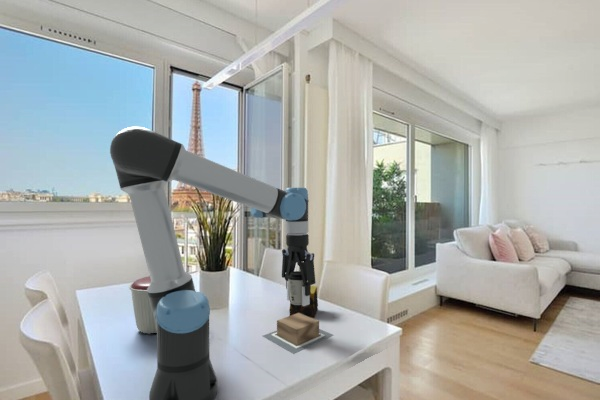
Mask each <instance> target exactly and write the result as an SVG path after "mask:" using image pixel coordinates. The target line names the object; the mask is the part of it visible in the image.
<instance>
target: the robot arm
mask: <svg viewBox="0 0 600 400" xmlns="http://www.w3.org/2000/svg"><path fill="white" fill-rule="evenodd" d="M109 154H110V158H111V160H112V163H113V166H114V169H115V173H116V176H117V180H118V183H119V188H120V190H121V191H122V192H124V193H126V194H128V196H129V200H130V204H131V209H132V212H133V216H134V221H135V223H136V226H137V231H138V235H139V240H140V242H141V243H140V244H141V247H142V251H143V255H144V259H145V261H146V266H147V269H148V274H149V276H150V278H151V284H150V285H149V287H148V288H147V292H148V296H149V300H150V304H151V308H152V313H153V316H154V321H155V326H156V331H157V334H156V357H157V358H156V359H157V360H156V363H157V367H156V371H155V374H154V377H153V381H152V383H151V384H152V385H151V387H150V390H149V394H148V400H214V399H215V398H216V396H217V393H218V378H217V375H216V372H215V369H214V367H213V364H212V362H211V359H210V315H211V307H210V304H209V299H208V297H207V295H206V294H204V293H203V292H201V291H196V289H195V284H194V281H193V276H192V274H190V273H188V272H186V271H185V268H184V265H183V263H184V262H183V259H182V256H181V252H180V251H181V250H180V247H179V244H178V243H179V242H178V240H177V239H178V238H177V234H176V231H175V227H174V223H173V220H172V214H171V210H170V205H169V202H168V199H167V198H168V197H167V193H166V190H165V187H166V186H167V184H168V183H170V182H171V181H176V182H179V183H181V184H185V185H188V186H190V187H193V188H195V189H199V190H201V191H205V192H207V193H210V194H213V195H215V196H218V197H221V198H224V199H227V200H229V201H231V202H232V201H233V202H234V203H237V204H241V205H243V206H246V207H249V208H250V209H249V211H250V214H251V216H252V217H253V218H257V219H258V218H260V219H265V218H269V219H279V220H285V233H286V235H285V238H286V239H285V241H286V243H285V244H286V246H287V248H284V249H282V250H281V254H282V263H281V264H282V265H281V266H282V267H281V278H284V280H285V289H286V300H287V301H288V302H290V300H291V298H290V290H289V282H288V278H287V277H288V275H290V273H291V272H294V271H296V270H295V269H296V267H297V266H299V267H298V268H299V271H301V276H302V280H303V284H304V285H302V306H306V305H309V304H310V294H311V286H314V285H315V284H316V274H315V263H314V260H315V253H310V252H309V251H308V246H309V242H310V241H309V240H310V239H309V234H308V233H309V201H310V200H309V193H308V192H309V191H308V188H306V187H286V188H285V190H282V189H280V188H278V187H275V186H273V185H271V184H269V183H266V182H263V181H261V180H260V179H259V180H258V179H256V178H254V177H251V176H248V175H247V174H244V173H242V172H239V171H238V170H235V169H233V168H230V167H227V166H225V165H222V164H220V163H218V162H215V161H213V160H210V159H208V158H206V157H203V156H200V155H199V154H196V153H193V152H191V151H188V150H187V149H186V147H185V146H184V144H183V143H180V142H178V141H176V140H173V139H171V138H169V137H167V136H165V135H163V134H162V133H161V134H160V133H158V132H157V131H154V130H152V129H148V128H146V127H142V126H130V127H127V128H124V129H122V130H121V131H118V133H117V134H115V136H113V139H112V140H111V142H110V148H109ZM296 265H297V266H296Z"/></svg>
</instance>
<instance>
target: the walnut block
mask: <svg viewBox="0 0 600 400" xmlns="http://www.w3.org/2000/svg"><path fill="white" fill-rule="evenodd" d="M319 329H320V321H319V320H318V319H315V318H312V317H308V316H306V315H303V314H301V313H297V314H294V315H291V316H290V315H288V316H285V317H282V318H280V319H277V320H276V331H277V335H278V336H279V337H281V338H283V339H285V340H287V341H289V342H291V343H293V344H295V345H296V346H297V345H300V344H302V343H304V342H306V341H309V340H311V339H313V338H315V337H318V336H319Z"/></svg>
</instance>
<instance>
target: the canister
mask: <svg viewBox="0 0 600 400" xmlns="http://www.w3.org/2000/svg"><path fill="white" fill-rule="evenodd" d="M150 284H151V278H150V275H149V276H144V277H141V278H138V279H136V280H135V281H133V282H132V283H130V284H129V286H128V288H129V290H130V291H131V298H132V306H133V314H134V319H135V325H136V328H137V330H138V331H139V332H140V331H141V332H140V333H142V332H143V333H142V334H145V333H157V331H156V326H155V321H154V316H153V313H152V308H151V304H150V300H149V296H148V292H147V288H148V287H149V285H150Z"/></svg>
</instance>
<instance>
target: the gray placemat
mask: <svg viewBox="0 0 600 400" xmlns="http://www.w3.org/2000/svg"><path fill="white" fill-rule="evenodd" d="M333 336H334V334H332V333H330V332H327V330H326V331H325V330H323V329H321V328H319V336H318V337H315V338H313V339H311V340H309V341H306V342H304V343H302V344H300V345H297V346H296V345H295V344H293V343H291V342H289V341H287V340H285V339H283V338H281V337H279V336H278V335H277V330H274V331H271V332H268V333H265V334H264V335H262V337H263V338H264V339H266V340H268V341H270V342H271V343H274V345H275V344H276V345H277V346H278V347H281V348H282V349H284V350H286V351H288V352H289V353H291V354H293V355H294V354H297V353H299V352H300V351H303V350H305V349H307V348H310V347H311V346H314V345H315V344H318V343H320V342H323V341H324V340H328V339H329V338H331V337H333Z"/></svg>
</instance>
